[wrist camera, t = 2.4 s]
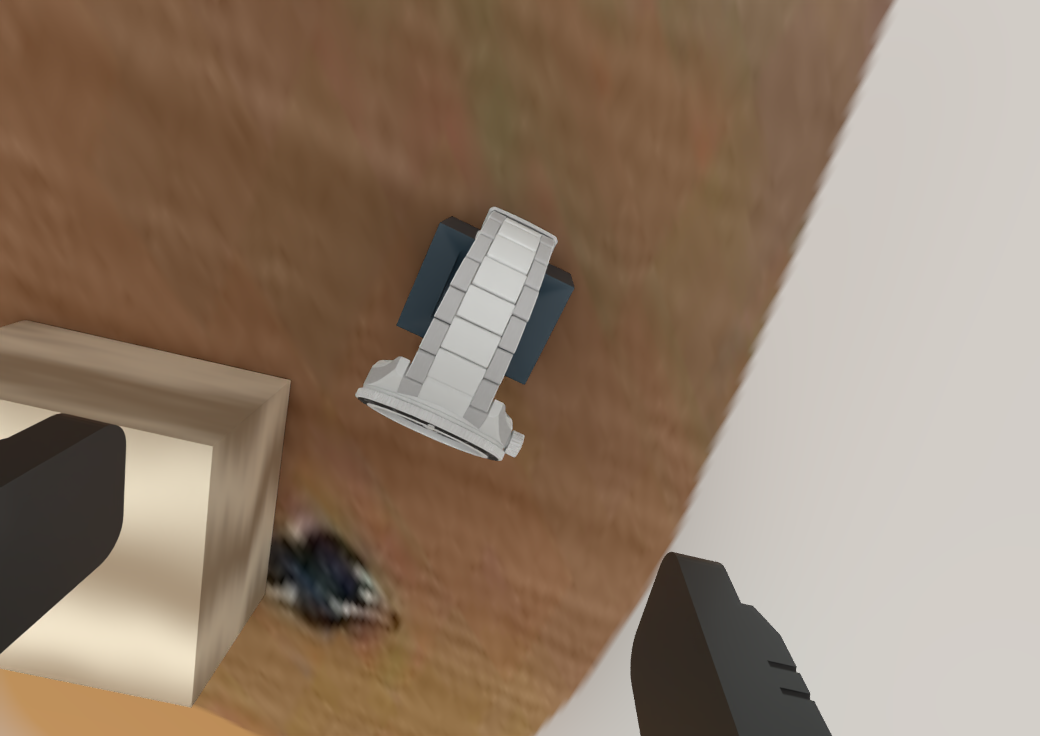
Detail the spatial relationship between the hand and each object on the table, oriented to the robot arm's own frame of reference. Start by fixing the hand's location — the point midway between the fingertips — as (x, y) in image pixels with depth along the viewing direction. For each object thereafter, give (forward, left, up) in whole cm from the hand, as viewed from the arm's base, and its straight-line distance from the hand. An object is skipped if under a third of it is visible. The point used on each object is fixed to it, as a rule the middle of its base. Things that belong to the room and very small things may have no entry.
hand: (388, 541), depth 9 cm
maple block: (+12, -14, -18) cm, 26 cm away
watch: (0, 0, -19) cm, 19 cm away
